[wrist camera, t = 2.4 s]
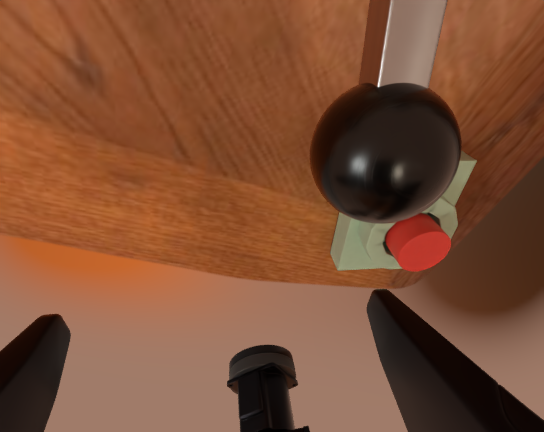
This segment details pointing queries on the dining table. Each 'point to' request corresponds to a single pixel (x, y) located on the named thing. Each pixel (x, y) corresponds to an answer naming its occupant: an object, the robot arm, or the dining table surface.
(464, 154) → the green button base
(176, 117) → the dining table surface
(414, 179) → the switch lever
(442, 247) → the stop button
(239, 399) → the robot arm
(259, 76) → the dining table surface
